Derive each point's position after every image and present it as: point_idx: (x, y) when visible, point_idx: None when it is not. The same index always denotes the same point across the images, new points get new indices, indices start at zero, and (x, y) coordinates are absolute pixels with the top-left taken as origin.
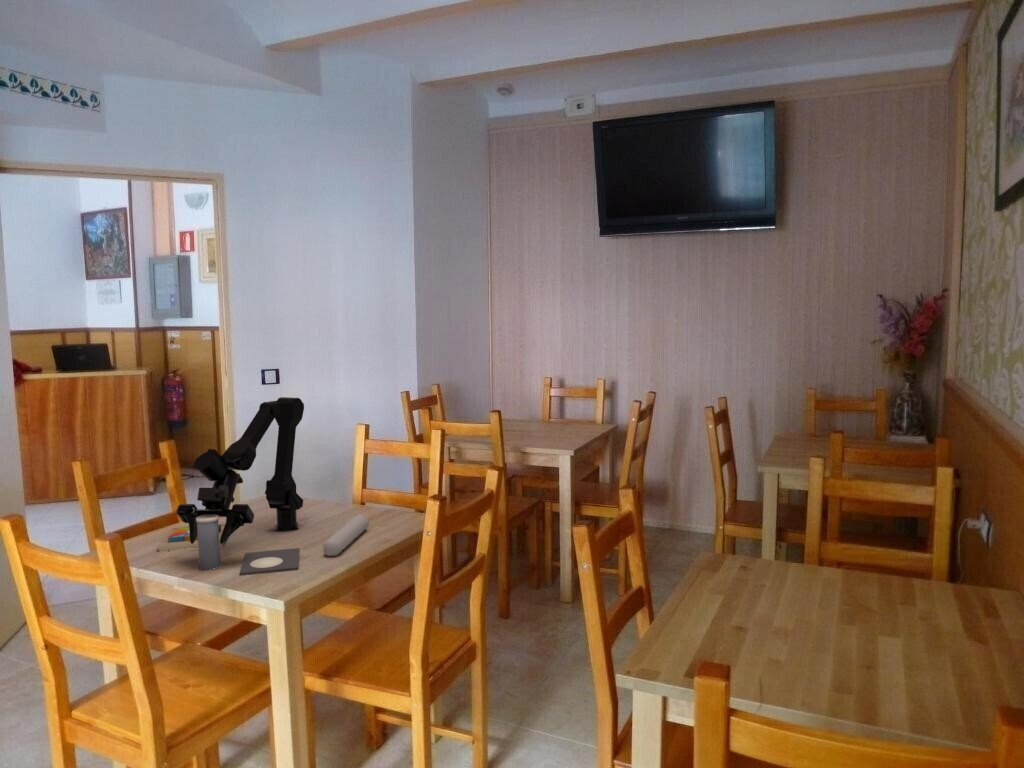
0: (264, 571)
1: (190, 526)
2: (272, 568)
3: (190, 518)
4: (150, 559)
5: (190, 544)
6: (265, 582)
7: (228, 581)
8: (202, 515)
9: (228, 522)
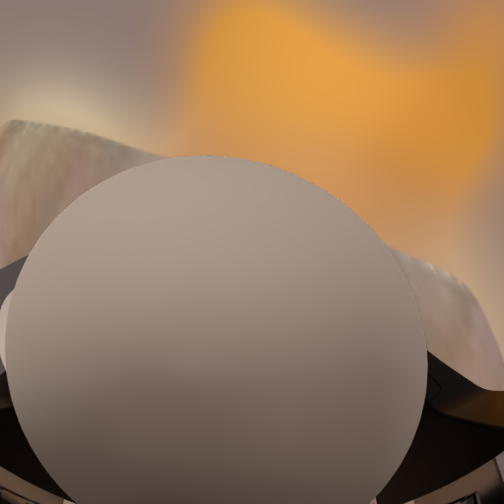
0: (19, 260)
1: (432, 364)
2: (4, 279)
3: (491, 405)
4: (479, 372)
5: (411, 501)
6: (18, 188)
7: (101, 178)
8: (368, 491)
9: (5, 391)
